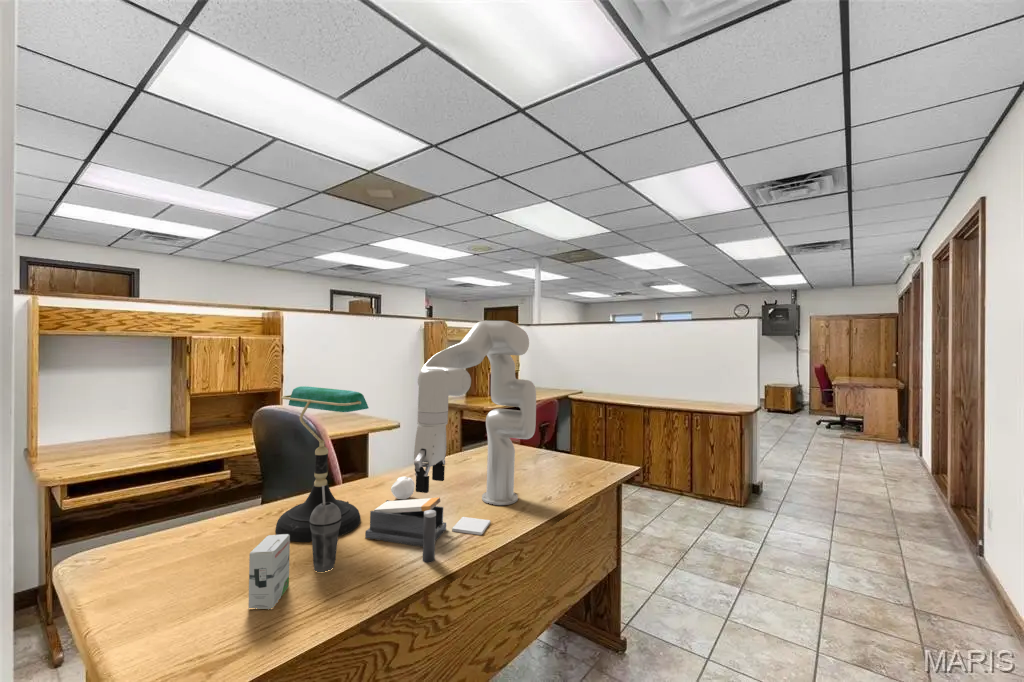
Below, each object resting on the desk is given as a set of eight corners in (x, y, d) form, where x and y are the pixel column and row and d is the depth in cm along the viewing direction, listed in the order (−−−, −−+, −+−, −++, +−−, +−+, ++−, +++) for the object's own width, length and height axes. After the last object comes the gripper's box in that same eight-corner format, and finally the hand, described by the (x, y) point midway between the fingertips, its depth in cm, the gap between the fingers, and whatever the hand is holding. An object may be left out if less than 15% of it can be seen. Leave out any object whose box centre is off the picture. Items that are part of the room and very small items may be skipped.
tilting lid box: (365, 538, 124) (366, 512, 124) (387, 521, 135) (387, 498, 135) (429, 547, 119) (429, 521, 119) (446, 529, 131) (446, 505, 131)
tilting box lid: (374, 514, 126) (374, 509, 126) (387, 505, 133) (386, 501, 133) (430, 510, 122) (429, 506, 122) (440, 501, 129) (439, 497, 129)
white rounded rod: (425, 556, 115) (427, 509, 115) (436, 557, 114) (437, 510, 114) (420, 561, 112) (421, 513, 112) (431, 563, 111) (433, 515, 111)
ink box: (266, 587, 98) (268, 533, 98) (289, 586, 99) (291, 533, 99) (246, 611, 90) (248, 552, 90) (272, 610, 90) (273, 551, 90)
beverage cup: (347, 563, 109) (349, 482, 109) (325, 578, 103) (328, 491, 103) (323, 558, 112) (325, 478, 112) (300, 572, 105) (303, 487, 105)
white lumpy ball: (403, 493, 160) (403, 471, 160) (419, 497, 156) (419, 475, 156) (386, 499, 153) (387, 477, 153) (402, 504, 149) (403, 481, 149)
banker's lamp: (381, 519, 136) (385, 388, 136) (320, 551, 116) (325, 396, 116) (318, 504, 148) (322, 382, 148) (252, 530, 127) (256, 388, 127)
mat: (462, 519, 139) (462, 516, 139) (490, 522, 137) (490, 520, 137) (451, 531, 130) (452, 528, 130) (481, 535, 128) (481, 532, 128)
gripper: (432, 412, 122) (430, 475, 122) (403, 422, 105) (400, 495, 105) (458, 414, 120) (456, 477, 120) (432, 425, 104) (430, 499, 103)
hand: (430, 486), depth 113 cm, fingers open, 9 cm apart
